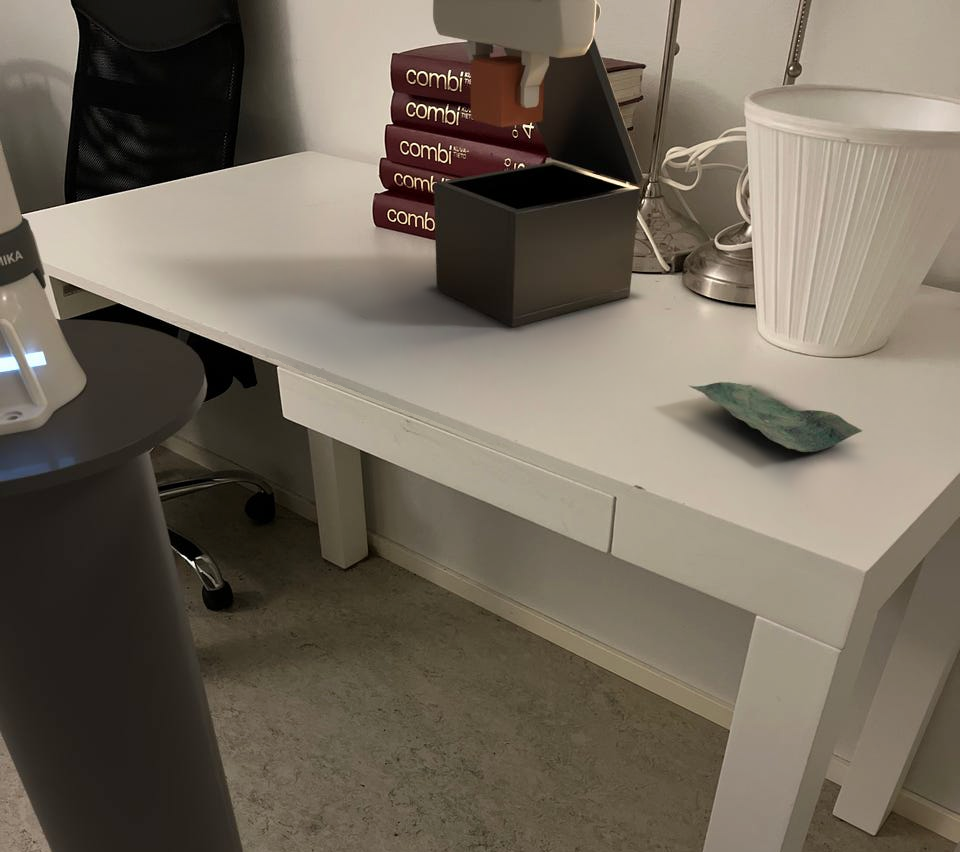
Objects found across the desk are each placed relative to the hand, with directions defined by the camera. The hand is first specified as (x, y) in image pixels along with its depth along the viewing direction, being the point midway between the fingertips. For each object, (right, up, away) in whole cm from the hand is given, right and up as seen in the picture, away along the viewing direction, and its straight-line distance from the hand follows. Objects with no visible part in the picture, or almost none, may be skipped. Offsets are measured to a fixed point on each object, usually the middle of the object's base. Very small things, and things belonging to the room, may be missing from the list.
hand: (506, 101), depth 92 cm
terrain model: (+22, -34, -12) cm, 42 cm away
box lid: (+6, +2, +4) cm, 7 cm away
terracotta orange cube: (0, -1, +1) cm, 2 cm away
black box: (+3, -13, +14) cm, 19 cm away
